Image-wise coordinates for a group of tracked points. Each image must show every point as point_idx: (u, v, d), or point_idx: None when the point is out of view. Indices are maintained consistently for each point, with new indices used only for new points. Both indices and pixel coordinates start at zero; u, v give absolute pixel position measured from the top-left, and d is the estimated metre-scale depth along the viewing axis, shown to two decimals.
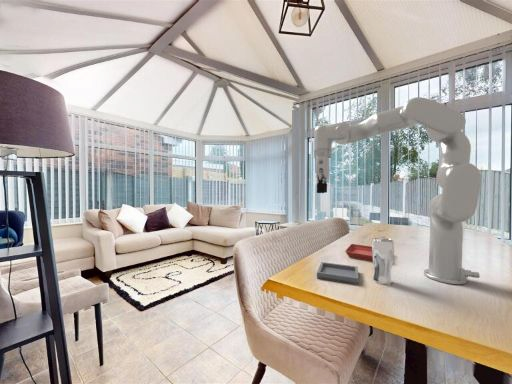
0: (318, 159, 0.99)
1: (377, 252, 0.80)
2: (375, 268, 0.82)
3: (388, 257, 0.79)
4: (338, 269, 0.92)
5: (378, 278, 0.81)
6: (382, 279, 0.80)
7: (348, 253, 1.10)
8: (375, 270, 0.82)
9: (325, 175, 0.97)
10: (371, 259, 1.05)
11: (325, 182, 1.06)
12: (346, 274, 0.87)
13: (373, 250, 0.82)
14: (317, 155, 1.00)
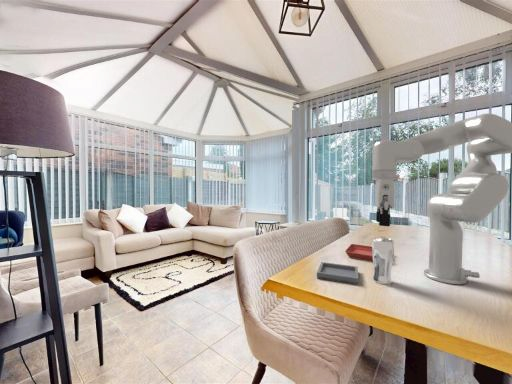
0: (381, 183, 0.78)
1: (377, 252, 0.80)
2: (375, 268, 0.82)
3: (388, 257, 0.79)
4: (338, 269, 0.92)
5: (378, 278, 0.81)
6: (382, 279, 0.80)
7: (348, 253, 1.10)
8: (375, 270, 0.82)
9: (391, 204, 0.77)
10: (371, 259, 1.05)
11: None
12: (346, 274, 0.87)
13: (373, 250, 0.82)
14: (379, 177, 0.79)
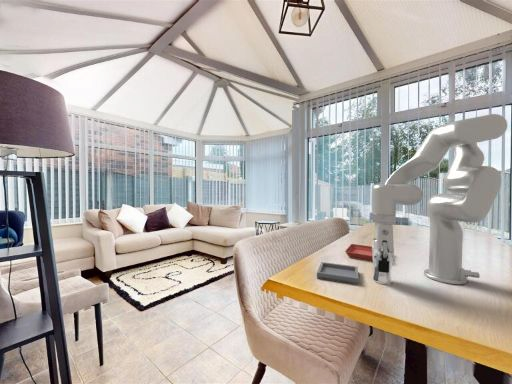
0: (380, 228, 0.79)
1: (377, 252, 0.80)
2: (375, 268, 0.82)
3: None
4: (338, 269, 0.92)
5: (378, 278, 0.81)
6: (382, 279, 0.80)
7: (348, 253, 1.10)
8: (375, 270, 0.82)
9: (391, 249, 0.77)
10: (371, 259, 1.05)
11: None
12: (346, 274, 0.87)
13: (373, 250, 0.82)
14: (378, 222, 0.80)
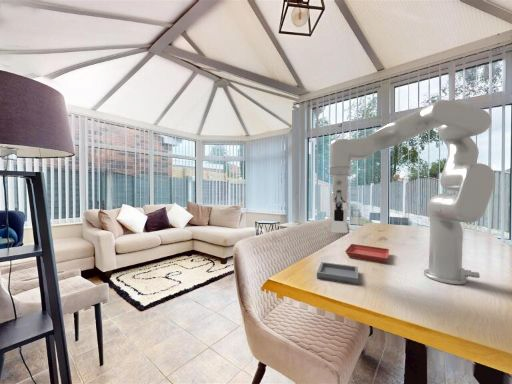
0: (335, 179, 0.83)
1: (333, 203, 0.85)
2: (332, 219, 0.87)
3: (343, 207, 0.84)
4: (338, 269, 0.92)
5: (334, 228, 0.86)
6: (338, 228, 0.85)
7: (348, 253, 1.10)
8: (332, 221, 0.87)
9: (344, 198, 0.82)
10: (371, 259, 1.05)
11: None
12: (346, 274, 0.87)
13: (330, 202, 0.87)
14: (334, 174, 0.85)
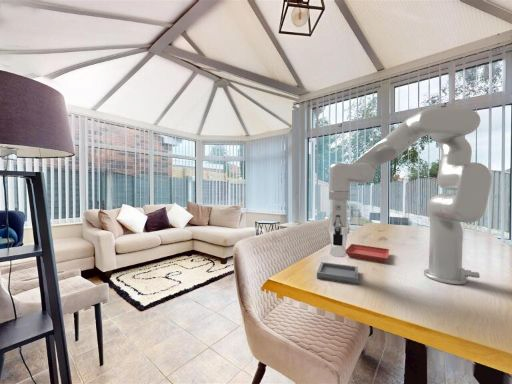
0: (335, 204, 0.84)
1: (332, 227, 0.85)
2: (331, 242, 0.87)
3: (342, 231, 0.84)
4: (338, 269, 0.92)
5: (333, 251, 0.86)
6: (336, 252, 0.85)
7: (348, 253, 1.10)
8: (331, 244, 0.88)
9: (343, 223, 0.82)
10: (371, 259, 1.05)
11: None
12: (346, 274, 0.87)
13: (329, 225, 0.87)
14: (333, 198, 0.85)
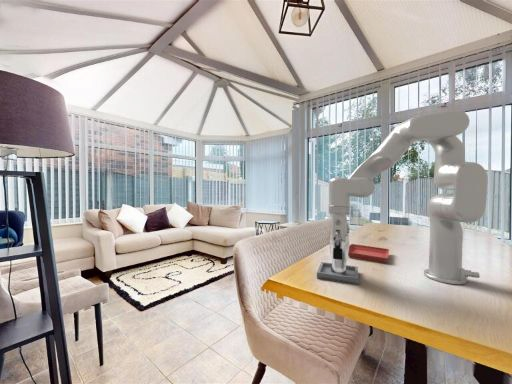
0: (334, 218, 0.84)
1: (333, 245, 0.86)
2: (332, 261, 0.87)
3: (343, 250, 0.84)
4: None
5: (334, 270, 0.86)
6: (337, 271, 0.85)
7: None
8: (332, 262, 0.88)
9: (343, 238, 0.82)
10: (371, 259, 1.05)
11: None
12: None
13: (330, 244, 0.87)
14: (333, 213, 0.85)
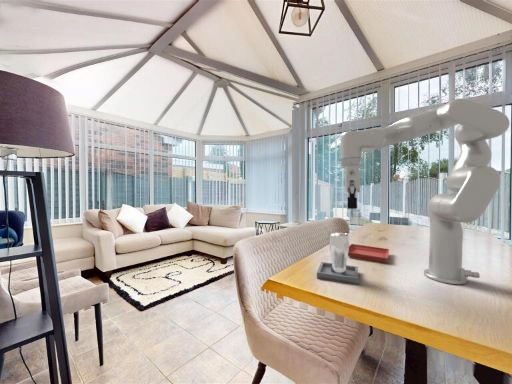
0: (348, 170, 0.86)
1: (333, 245, 0.86)
2: (332, 261, 0.88)
3: (342, 250, 0.84)
4: None
5: (334, 270, 0.86)
6: (337, 271, 0.85)
7: (348, 253, 1.10)
8: (332, 263, 0.88)
9: (357, 188, 0.84)
10: (371, 259, 1.05)
11: None
12: None
13: (330, 244, 0.87)
14: (346, 165, 0.87)
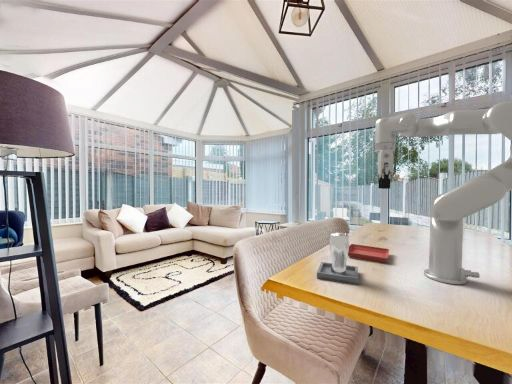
0: (382, 153, 0.94)
1: (333, 245, 0.86)
2: (332, 261, 0.87)
3: (342, 250, 0.84)
4: None
5: (334, 270, 0.86)
6: (337, 271, 0.85)
7: (348, 253, 1.10)
8: (332, 263, 0.88)
9: (391, 170, 0.92)
10: (371, 259, 1.05)
11: None
12: None
13: (330, 244, 0.87)
14: (380, 149, 0.95)
